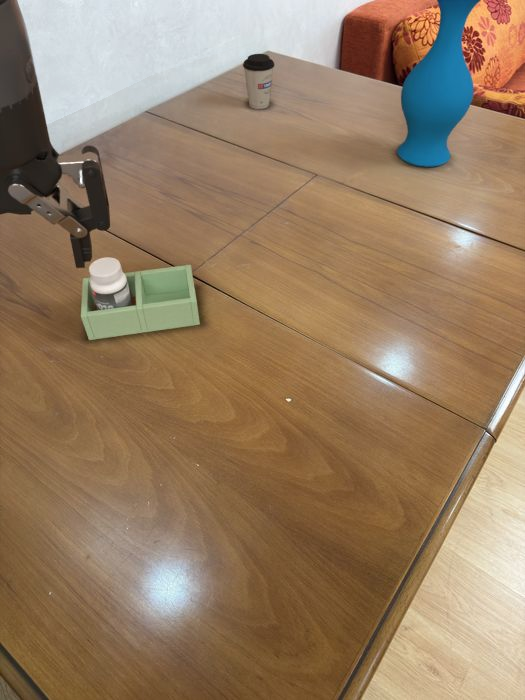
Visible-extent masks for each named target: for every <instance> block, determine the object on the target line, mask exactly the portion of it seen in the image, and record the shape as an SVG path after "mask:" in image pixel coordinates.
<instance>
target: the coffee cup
mask: <svg viewBox="0 0 525 700" xmlns="http://www.w3.org/2000/svg"><path fill="white" fill-rule="evenodd" d="M242 67H243V69H244V70H243V72H244V78H245V84H246V91H247V98H248V99H247V100H248V104H249V105H248V106H249V107H251V108H252V109H257V110H262V109H266V108H268V107H269V106H270V102H271V101H270V100H271V92H272V82H273V75H274V74H273V73H274V67H275V62H274V60H273V59H272V58H270V56H269V55H268V54H264V53H253V54H250V55H248V56H247V58H246V59H245V60H244V61H243V64H242Z"/></svg>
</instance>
